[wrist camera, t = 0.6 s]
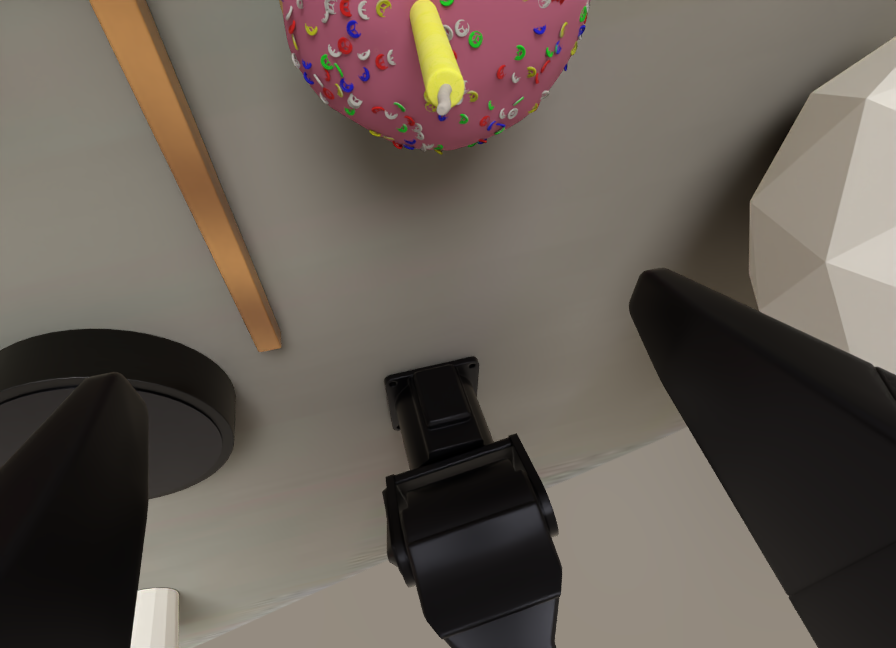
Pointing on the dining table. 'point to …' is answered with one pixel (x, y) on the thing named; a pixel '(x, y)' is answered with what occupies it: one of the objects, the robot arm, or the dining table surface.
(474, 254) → the dining table surface
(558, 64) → the cupcake
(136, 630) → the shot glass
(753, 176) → the dining table surface
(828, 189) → the geometric orb
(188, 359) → the pan
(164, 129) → the pan rest
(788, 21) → the dining table surface
